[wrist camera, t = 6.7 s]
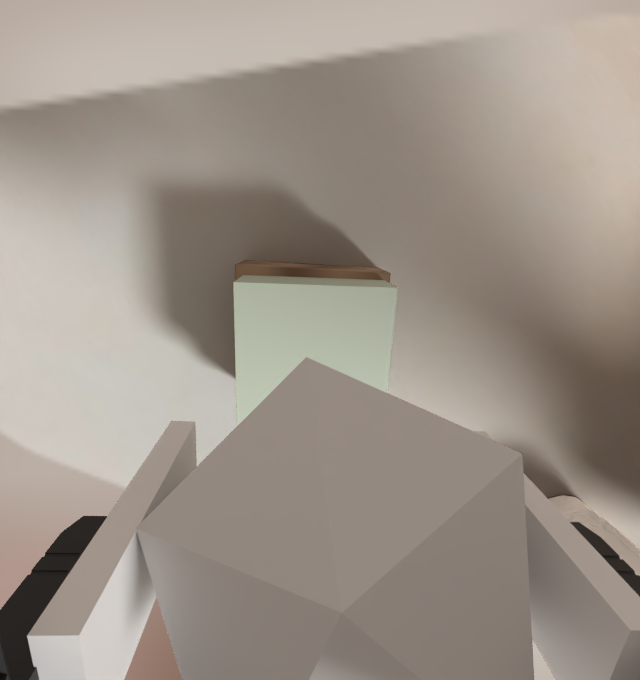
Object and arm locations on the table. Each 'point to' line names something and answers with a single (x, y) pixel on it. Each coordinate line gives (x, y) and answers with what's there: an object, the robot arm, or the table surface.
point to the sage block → (309, 331)
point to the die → (345, 545)
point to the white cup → (599, 528)
